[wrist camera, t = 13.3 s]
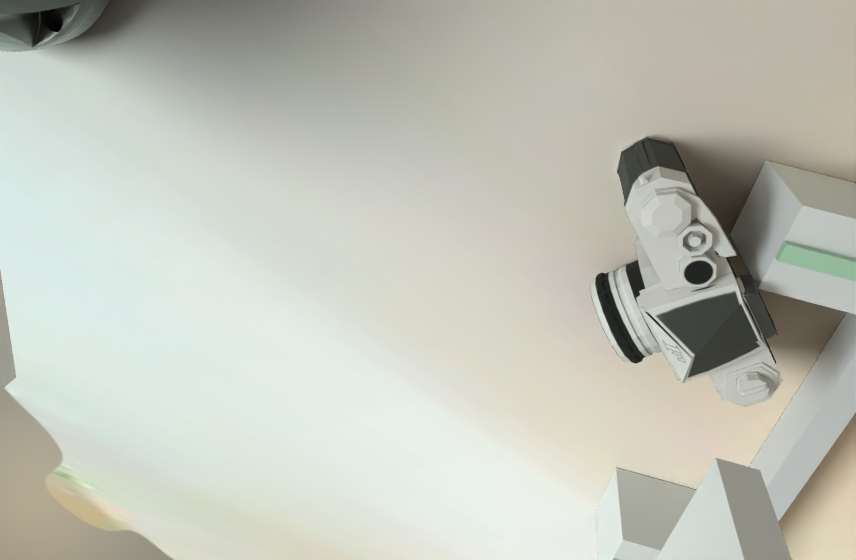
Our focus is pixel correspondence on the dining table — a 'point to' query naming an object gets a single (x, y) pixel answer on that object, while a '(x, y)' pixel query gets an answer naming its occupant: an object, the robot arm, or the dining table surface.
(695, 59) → the dining table surface
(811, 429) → the rail mount
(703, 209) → the camera
